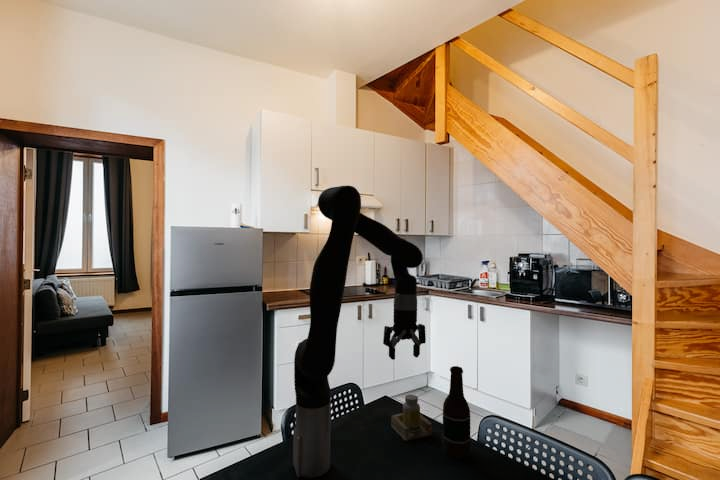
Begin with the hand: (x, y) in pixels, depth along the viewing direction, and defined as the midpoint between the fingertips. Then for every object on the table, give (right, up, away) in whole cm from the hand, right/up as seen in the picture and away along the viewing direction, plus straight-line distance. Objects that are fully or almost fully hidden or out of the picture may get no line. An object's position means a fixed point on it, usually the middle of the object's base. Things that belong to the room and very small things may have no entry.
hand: (404, 357), depth 113 cm
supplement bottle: (+2, -22, -2) cm, 22 cm away
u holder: (+2, -23, -1) cm, 23 cm away
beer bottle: (+13, -23, -13) cm, 29 cm away
